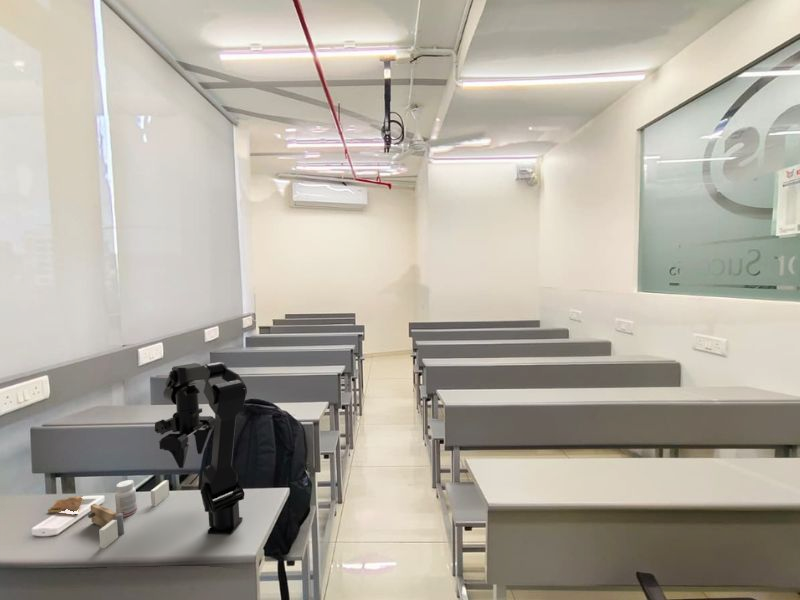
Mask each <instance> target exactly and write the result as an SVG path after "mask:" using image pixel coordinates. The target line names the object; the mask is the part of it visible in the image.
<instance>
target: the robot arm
mask: <svg viewBox="0 0 800 600" xmlns="http://www.w3.org/2000/svg"><path fill="white" fill-rule="evenodd" d="M220 378H221V379H222V380H223V381H225V382H219V383H215V384H213V385H212V384H211V383H210V382H209V380H214V379H220ZM203 380H204V383H205V384H204V386H203V391H202V392H203V394H204V395H205V398H206V399H207V401H208V406H209V407H210V409H211V410H212V412H213V413H214V416H211V415H209V416H208V415H207V416H206V415H205V416H203V415H201V416H200V414H201V413H203V408H201V407H200V405H199V403H200V402H199V394H200V393H201V392H200V389H199V388H197V387H196V384H198V383H199V382H201V381H203ZM247 393H248V389H247V386H246V384H245V382H244V381H243V380H242V377H240V375H239V374H238V373H236V372H234V371H233V370H231V369H230V368H228V366H227V365H226V364H225V362H221V361H217V362H211V363H205V364H204V365H203V364H202V365H201V364H200V363H197V362H192V363H186V364H182V365H181V364H180V365H175V366H172V368H171V371H170V372H169V374H168V377H167V379H166V382H165V388H164V391H163V398H164V399H165V400H166V401H168V402H169V403H172V404H174V405H176V412H174V413H173V415H172V417H170V418H168V419H161V420H158V421H156V422H155V423H154V431H155V433H157V434H160V436H162V435H164V434H166V433H168V432H171V431H172V433H169V434H166V435H165V436H164V437H162V438H161V439H160V440H159V441H158V448H159V450H163V451H168V452H170V454H171V455H172V456H173V459H174V461H175V462H176V465H177V466H178V467H177V468H179V469H183V468H184V467H185V463H186V460H187V455H188V451H189V446H190V445H189V444H188V443H189V436H191V435H192V434H193V437H194V440H195V446H196V451H197V454H198V455H201V454H203V452H204V449H205V447H206V444H207V442H208V440H209V437H210V435H211V433H212V432H213V440H212V449H211V450H212V452H211V463H210V465H208V466H204V467H203V469H202V478H201V482H202V483H201V485H200V495H201V500H202V505H203V507H204V512H206V513H208V527H210V528H209V529H207V534H219V535H220V534H221V535H222V534H223V535H224V534H225V535H226V534H227V535H228V534H229V535H230V534H232V533H234V531H236V529H237V528H238V526H239V525H240V523H241V522H242V521H243V520H244V519H243V516H242V517H241V516H240V501H243V500H244V499H245V491H244V489H243V486H242V484H241V481H240V480H239V477H238V473H237V471H236V470H235V468H234V467H233V465H232V464H233V453H234V443H235V431H236V420H237V417H238V416H237V415H238V414H239V413H240V412H241V410H242V409H243V407H244V405H245V402H246V396H247V395H248V394H247Z"/></svg>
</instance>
